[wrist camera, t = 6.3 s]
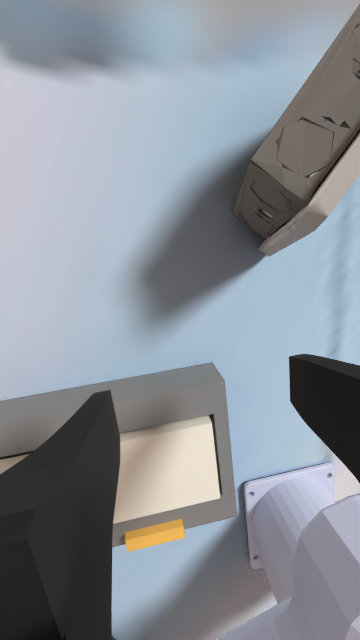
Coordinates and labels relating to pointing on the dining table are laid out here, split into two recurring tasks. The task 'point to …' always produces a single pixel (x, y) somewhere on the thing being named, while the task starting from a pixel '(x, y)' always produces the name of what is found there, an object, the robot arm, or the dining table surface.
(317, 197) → the electrical switch
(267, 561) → the robot arm
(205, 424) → the right button
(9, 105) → the dining table surface
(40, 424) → the switch unit
